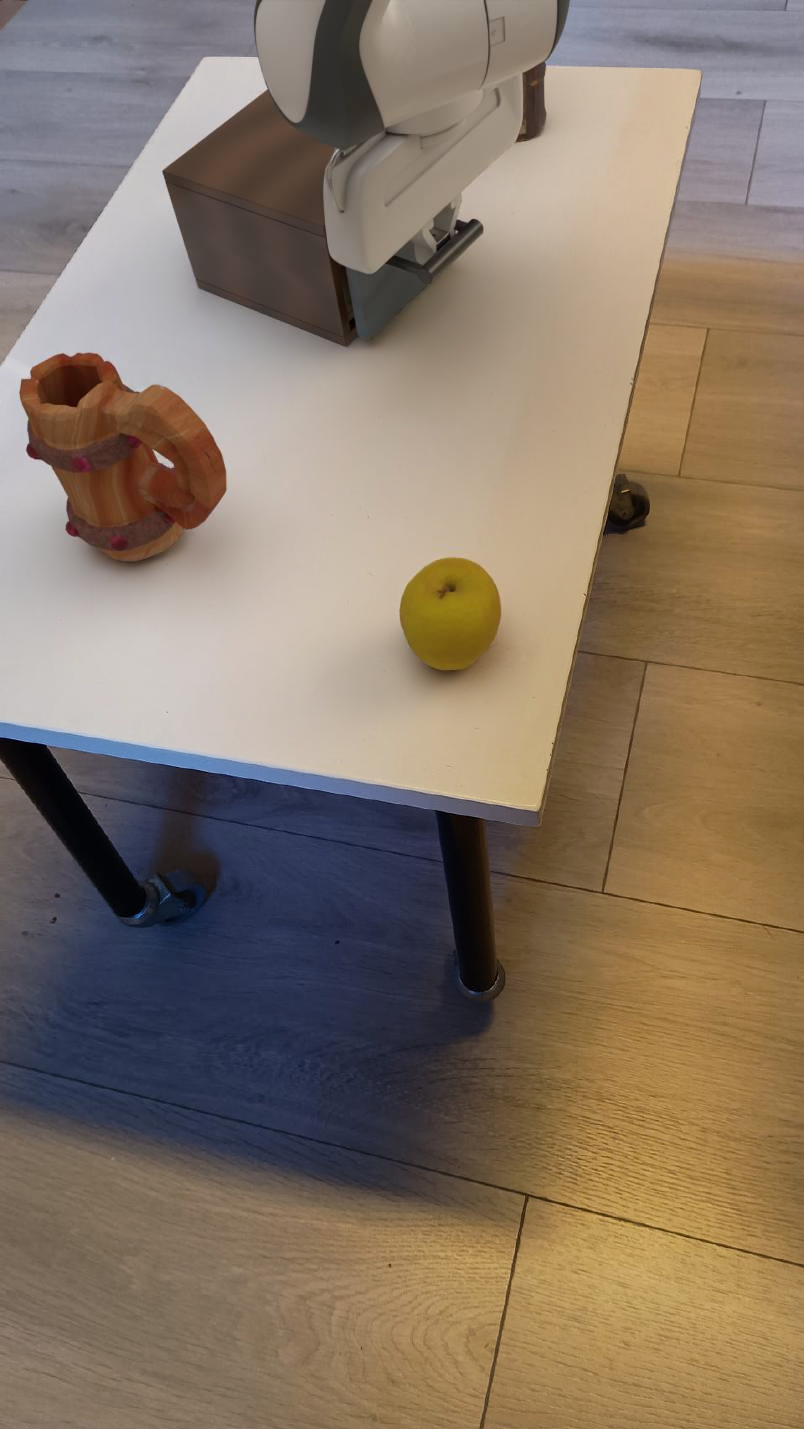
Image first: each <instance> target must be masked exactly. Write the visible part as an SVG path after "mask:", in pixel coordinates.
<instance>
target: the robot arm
mask: <svg viewBox="0 0 804 1429" xmlns="http://www.w3.org/2000/svg"><path fill="white" fill-rule="evenodd" d="M570 3H571V0H255V5H254V11H253V35H254V43H255V50H256V54H257V59H258V63H259V67H260V71H261V74H262V78H263V80H264V84H265V86H266V88H267V89H268V91H269V93H270V96H271V98H272V100H273V102H274V104H275V106H276V108H277V109H278V111H279V113H280V114H281V115H282V117H283V118H284V119H285V120H286V121H287V122H288V123H289V124H290V125H291V126H293V127H294V128H296V129H297V130H299V131H301V132H302V133H304V134H306V135H308V136H309V137H311V138H313V139H315V140H317V141H320V142H322V143H325V144H327V145H329V146H332V147H334V150H335V151H334V153H333V154H332V157H331V159H330V161H329V163H328V165H327V167H326V169H325V175H324V186H323V198H324V214H325V226H326V235H327V243H328V249H329V253H330V255H331V257H332V258H333V259H334V260H335V261H336V262H338V263H340V264H341V265H344V266H346V267H348V268H351V269H353V270H356V271H360V272H363V273H366V274H372V273H374V272H376V271H377V270H378V269H379V268H380V267H381V266H382V265H383V264H384V263H386V262H387V261H388V260H389V259H390V258H391V257H392V256H393V255H394V254H395V253H396V252H397V251H398V250H400V249H401V248H402V247H403V246H404V245H405V244H406V243H407V242H408V241H409V240H411V242H412V243H414V250H415V258H416V260H417V262H418V263H419V264H422V265H423V264H425V263H426V262H427V261H428V260H429V259H430V258H431V257H432V256H433V255H434V254H435V253H436V252H437V251H438V250H439V249H440V248H441V247H442V246H444V245H445V244H446V243H447V242H448V241H449V240H450V239H451V238H452V237H453V236H454V227H455V224H456V220H457V219H458V217H459V213H460V209H461V205H462V202H463V198H462V193H463V191H464V190H465V189H467V188H468V187H469V186H470V185H471V184H472V183H473V182H475V180H476V179H477V178H479V176H481V174H482V173H484V172H485V171H486V170H487V169H488V168H489V167H490V166H491V165H493V163H494V162H496V160H498V159H499V158H500V157H501V156H502V155H503V154H504V153H505V152H506V151H508V150H509V149H510V148H511V147H512V146H513V145H514V144H515V143H516V142H515V141H516V139H517V137H518V134H519V131H520V128H521V125H522V119H523V79H522V73H523V72H526V71H528V70H530V69H531V68H533V67H535V66H536V65H538V64H539V63H543V62H545V63H546V61H547V60H549V58H550V57H551V55H552V54H553V52H554V51H555V49H556V47H557V45H558V44H559V41H560V39H561V37H562V35H563V32H564V29H565V26H566V22H567V18H568V14H569V10H570V5H571V4H570ZM267 89H266V90H267Z"/></svg>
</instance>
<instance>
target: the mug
mask: <svg viewBox="0 0 804 1429" xmlns="http://www.w3.org/2000/svg"><path fill="white" fill-rule="evenodd" d="M29 374H30V378H21V379H20V386H19V392H18V393H19V401H20V403H21V406H22V408H23V410H24V413H25V414H26V416H27V422H26V424H27V426H26V431H27V438H28V443H27V445H26V447H25V452H26V454H27V456H28V457H29V458H31V459H33V460H36V461H37V460H38V461H43V462H44V463H45V464H46V465H48V466H50V467H51V469H52V471H53V472H54V475H55V476H56V478H57V480H58V482H59V483H60V485H61V487H62V489H63V490H64V492H65V494H66V496H67V498H66V506H65V511H66V514H67V518H68V521H67V522H66V524H65V532H66V533H67V534H68V535H69V536H71V537H74V538H79V539H81V540H82V541H83V542H85V543H87V544H88V545H90V546H91V547H95V548H97V549H98V550H100V551H101V552H103V553H104V554H105V555H106V556H108V557H109V558H111V559H113V560H114V561H115V560H116V561H122V562H138V561H143V560H145V559H148V558H150V557H152V556H155V555H159V554H160V553H162V552H164V551H166V550H168V549H170V548H171V547H172V546H173V544H175V543H176V542H177V541H178V540H179V539H180V537H181V535H182V533H183V531H184V530H185V531H189V530H193V529H196V528H197V527H199V526H201V525H202V524H203V523H204V522H206V520H207V519H208V518H209V517H210V515H211V514H212V513H213V511H214V510H215V509H216V507H217V506H218V504H219V503H220V502H221V500H222V498H223V497H224V496H225V494H226V493H227V490H228V489H227V485H228V484H227V468H226V465H225V460H224V456H223V454H222V451H221V449H220V448H219V446H218V444H217V442H216V440H215V438H214V436H213V434H212V433H211V431H210V429H209V428H208V426H207V424H206V423H205V422H204V420H202V418H201V417H200V416H199V415H198V413H197V412H195V411H194V410H193V408H192V407H191V406H190V405H189V404H188V403H187V402H186V401H185V400H184V399H183V398H182V397H181V396H180V395H179V394H177V393H176V392H174V391H173V390H171V389H170V388H168V387H167V386H164V385H160V384H151V385H149V386H148V387H147V388H145V389H144V390H142V391H141V392H140V391H137V390H136V391H134V390H133V389H131V388H130V387H129V386H127V385H126V384H124V383H123V381H122V379H121V377H120V374H119V372H118V371H117V368H116V366H115V365H114V364H113V363H112V362H110V360H104V359H103V356H101V355H100V354H98V353H97V352H96V353H95V352H83V353H82V352H76V353H75V354H74V355H73V356H70V355H68V354H66V353H64V352H61V353H57V354H55V355H52V356H50V357H49V358H46V359H45V360H43V361H41V362H39V363H37V364H36V365H34V366H32V367H31V369H30V371H29ZM155 452H156V453H158V454H159V455H160V456H162V457H163V458H165V459H166V460H168V461H169V462H170V463H172V464H173V467H169V466H167V465H165V464H164V463H162V462H159V460H158V458H157V456H156V453H155Z"/></svg>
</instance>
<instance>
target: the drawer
mask: <svg viewBox="0 0 804 1429" xmlns="http://www.w3.org/2000/svg"><path fill="white" fill-rule="evenodd" d="M484 230H485V229H484V226H483V224H482V222H481V221H480V220H479V219H477V218H471V219H470V220H469V221H463V220H461V219H458V218H457V220H456V224H455V227H454V236H453V237H452V238H451V239H450V240H449V241H448V242H447V243H446V244H445V245H444V246H442V247H441V248H440V249H439V250H438V251H437V252H436V253H435V254H434V255H433V256H432V257H431V258H430V259H429V260H428V261H427V262H426V263H425V264H423V265H422V264H419V263H418V262H417V260H416V258H415V250H414V243H412V242H411V240H409V241H408V242H407V243H406V244H405V245H404V246H403V247H402V248H401V249H400V250H398V251H397V252H396V253H395V254H394V255H393V256H392V257H391V258H390V259H389V260H388V261H387V262H386V263H384V264H383V265H382V266H381V267H380V268H379V269H378V270H377V271H376V272H374V273H372V274H366V273H363V272H360V271H356V270H353V269H351V268H348V267H346V266H344V265H341V264H340V263H338V265H339V270H340V276H341V281H342V287H343V292H344V297H345V303H346V308H347V314H348V319H349V321H350V320H351V319H352V318H353V317H355V323H356V329H357V334H358V335H357V337H359V338H362V339H365V340H367V341H370V340H371V339H372V338H373V337H374V336H375V335H376V334H378V332H380V331H381V330H382V329H383V328H384V327H385V326H386V325H387V324H388V323H389V322H390V321H392V319H393V318H394V317H395V316H397V314H398V313H400V311H402V309H403V308H405V306H406V305H408V304H409V303H410V302H411V300H413V299H414V298H415V297H416V296H417V295H418V294H419V293H420V292H421V291H422V290H423V289H424V288H426V286H427V285H428V286H429V285H431V284H432V283H433V282H434V281H436V280H437V278H439V277H440V276H441V275H442V274H443V273H444V272H445V271H446V270H447V269H448V268H449V267H450V266H451V265H452V264H453V263H454V262H456V260H457V259H459V257H460V256H462V254H463V253H465V252H466V251H467V250H468V249H469V248H470V247H471V246H472V245H473V244H474V243H475V242H476V241H477V240H478V239H479V238H480V237H481V236H482V235H483V234H484Z"/></svg>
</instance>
